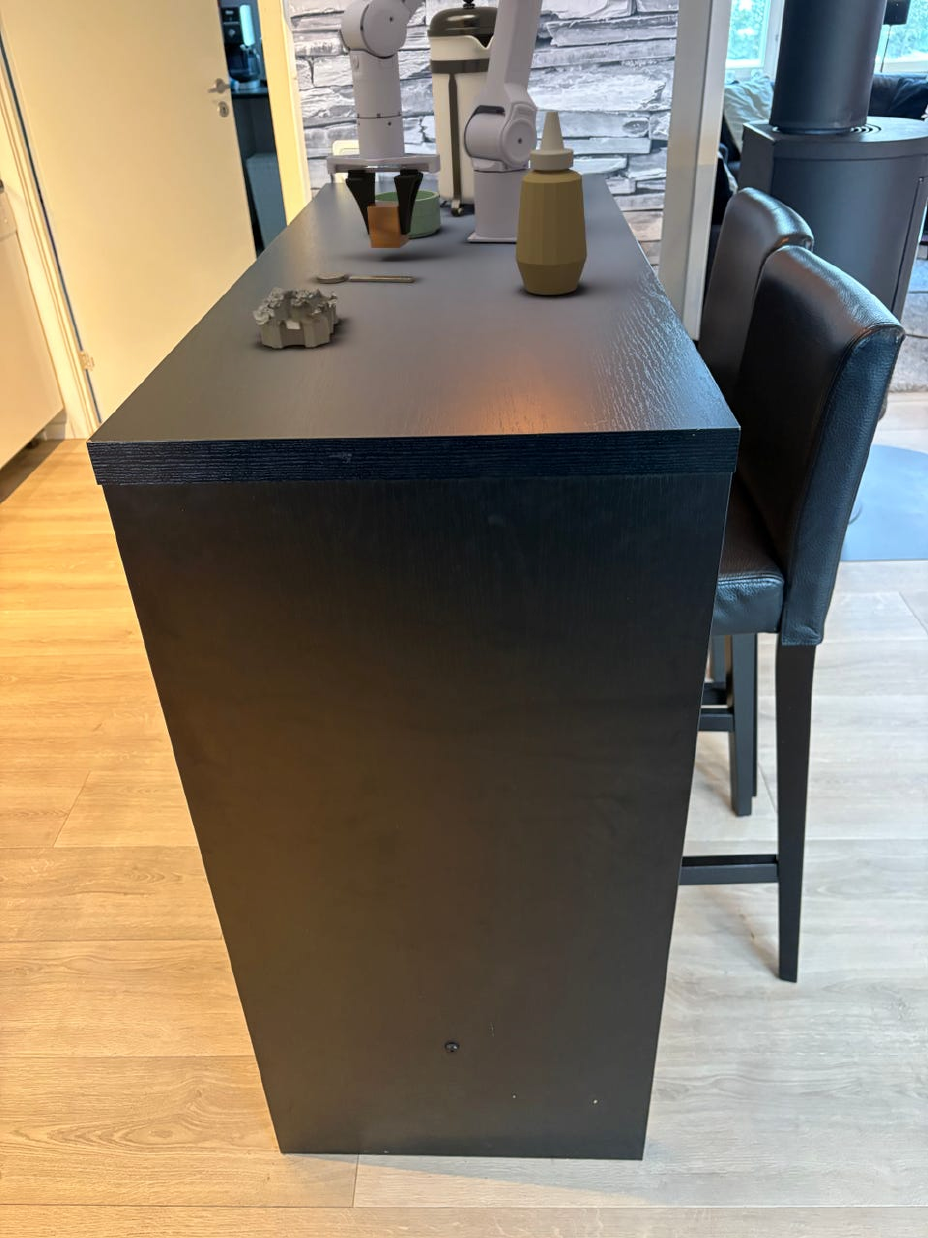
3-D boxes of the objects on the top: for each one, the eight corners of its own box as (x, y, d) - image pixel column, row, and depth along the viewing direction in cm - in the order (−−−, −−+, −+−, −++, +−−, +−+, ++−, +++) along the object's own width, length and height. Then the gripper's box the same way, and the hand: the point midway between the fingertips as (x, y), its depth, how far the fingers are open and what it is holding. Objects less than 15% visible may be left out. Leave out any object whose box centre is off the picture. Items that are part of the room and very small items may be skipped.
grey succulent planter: (327, 349, 92) (322, 306, 90) (252, 350, 92) (245, 308, 90) (346, 317, 101) (341, 278, 98) (278, 319, 101) (272, 280, 99)
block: (409, 241, 124) (406, 200, 121) (399, 248, 121) (396, 206, 118) (380, 241, 125) (377, 200, 122) (370, 247, 122) (366, 206, 119)
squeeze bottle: (593, 282, 108) (598, 106, 99) (577, 300, 102) (581, 115, 92) (526, 279, 111) (525, 107, 101) (507, 297, 105) (503, 116, 95)
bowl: (448, 225, 141) (446, 189, 138) (430, 239, 132) (427, 201, 130) (384, 225, 143) (381, 189, 140) (362, 239, 135) (358, 202, 132)
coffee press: (541, 200, 154) (541, -19, 137) (491, 218, 143) (485, -18, 126) (454, 195, 162) (444, -13, 146) (400, 212, 151) (383, -11, 135)
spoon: (417, 277, 114) (416, 272, 114) (408, 284, 112) (408, 279, 111) (323, 275, 117) (323, 270, 117) (312, 282, 114) (312, 277, 114)
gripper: (312, 120, 113) (326, 239, 120) (426, 117, 110) (433, 240, 117) (333, 114, 119) (345, 228, 126) (442, 111, 115) (448, 228, 123)
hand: (388, 233), depth 122 cm, fingers closed on block, 4 cm apart
